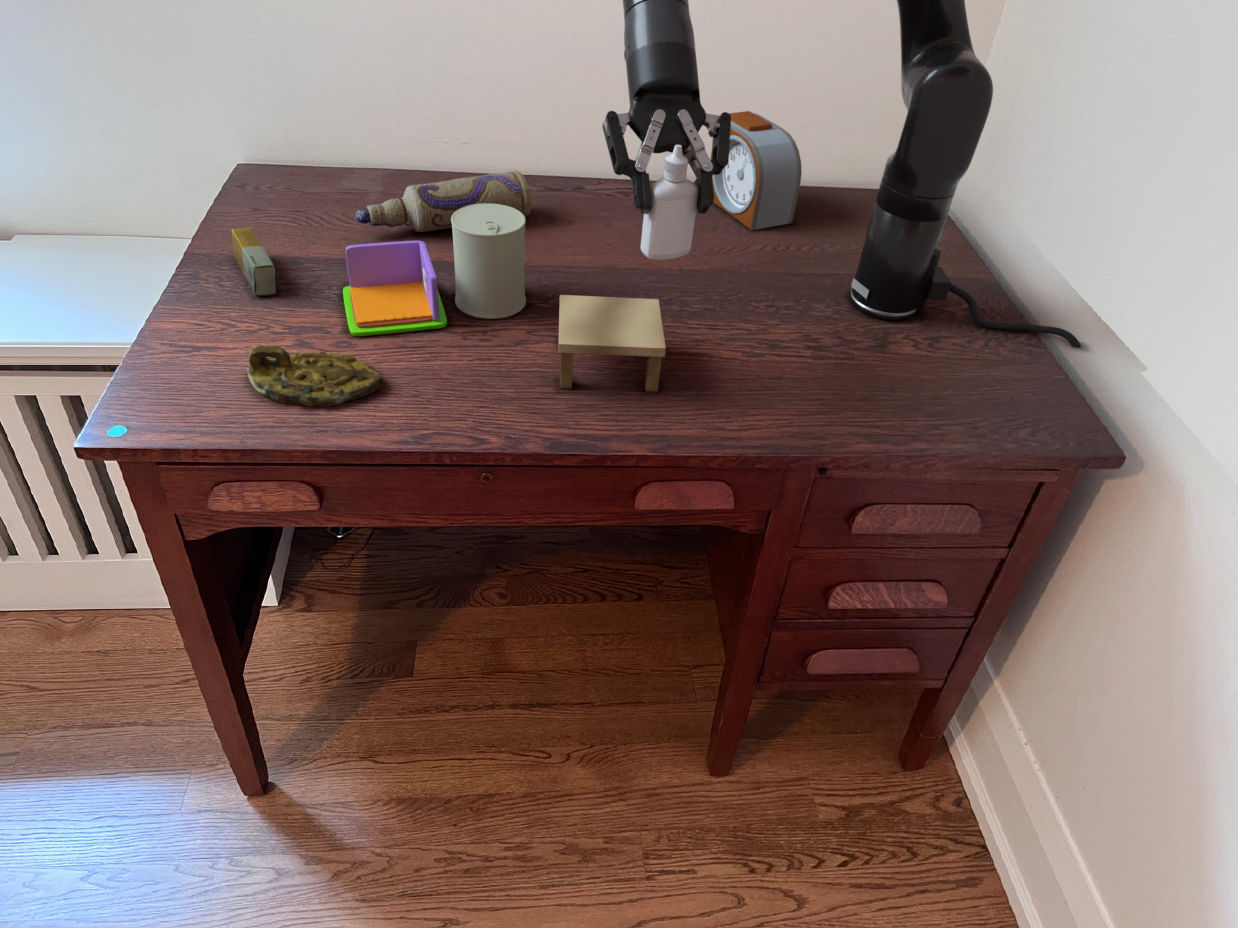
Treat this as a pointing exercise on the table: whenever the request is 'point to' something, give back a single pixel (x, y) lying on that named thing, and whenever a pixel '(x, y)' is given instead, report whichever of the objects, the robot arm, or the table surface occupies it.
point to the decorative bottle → (448, 201)
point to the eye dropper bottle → (670, 211)
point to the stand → (610, 332)
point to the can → (489, 260)
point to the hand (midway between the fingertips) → (675, 210)
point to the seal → (310, 376)
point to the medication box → (254, 262)
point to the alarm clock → (759, 173)
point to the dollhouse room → (391, 289)
